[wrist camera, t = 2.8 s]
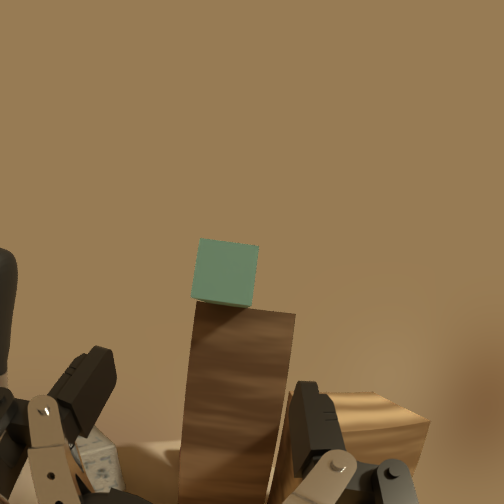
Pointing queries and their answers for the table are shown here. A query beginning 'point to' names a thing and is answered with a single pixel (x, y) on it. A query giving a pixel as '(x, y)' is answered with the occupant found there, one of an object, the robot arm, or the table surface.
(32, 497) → the table surface
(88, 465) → the grey speckled block
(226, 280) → the bar
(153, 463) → the table surface
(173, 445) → the table surface
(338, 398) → the oak block
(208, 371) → the walnut stand
